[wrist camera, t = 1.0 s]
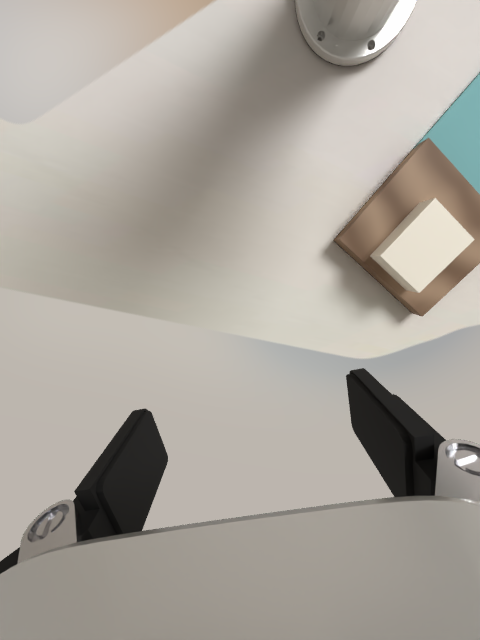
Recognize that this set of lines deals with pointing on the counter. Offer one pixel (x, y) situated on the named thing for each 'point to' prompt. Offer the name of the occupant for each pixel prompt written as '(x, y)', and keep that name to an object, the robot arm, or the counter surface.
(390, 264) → the block
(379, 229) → the board
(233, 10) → the counter surface
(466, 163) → the mat
